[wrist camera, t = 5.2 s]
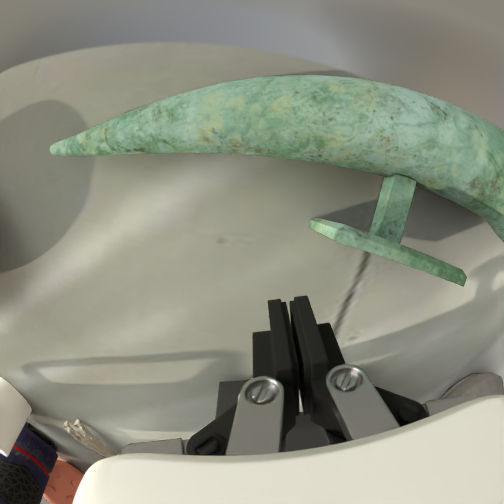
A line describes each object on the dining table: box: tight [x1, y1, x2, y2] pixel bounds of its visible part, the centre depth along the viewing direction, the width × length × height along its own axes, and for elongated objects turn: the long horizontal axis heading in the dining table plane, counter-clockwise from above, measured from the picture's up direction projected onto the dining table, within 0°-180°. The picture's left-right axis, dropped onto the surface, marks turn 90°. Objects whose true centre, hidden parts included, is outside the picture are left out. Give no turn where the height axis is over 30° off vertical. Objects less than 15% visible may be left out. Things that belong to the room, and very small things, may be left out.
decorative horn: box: [50, 75, 504, 286], centre depth 12 cm, size 7×11×30 cm
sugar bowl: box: [43, 460, 84, 504], centre depth 29 cm, size 12×14×10 cm
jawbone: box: [64, 419, 117, 458], centre depth 28 cm, size 17×5×2 cm, turn 27°
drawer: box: [216, 365, 356, 452], centre depth 17 cm, size 16×10×8 cm, turn 7°
